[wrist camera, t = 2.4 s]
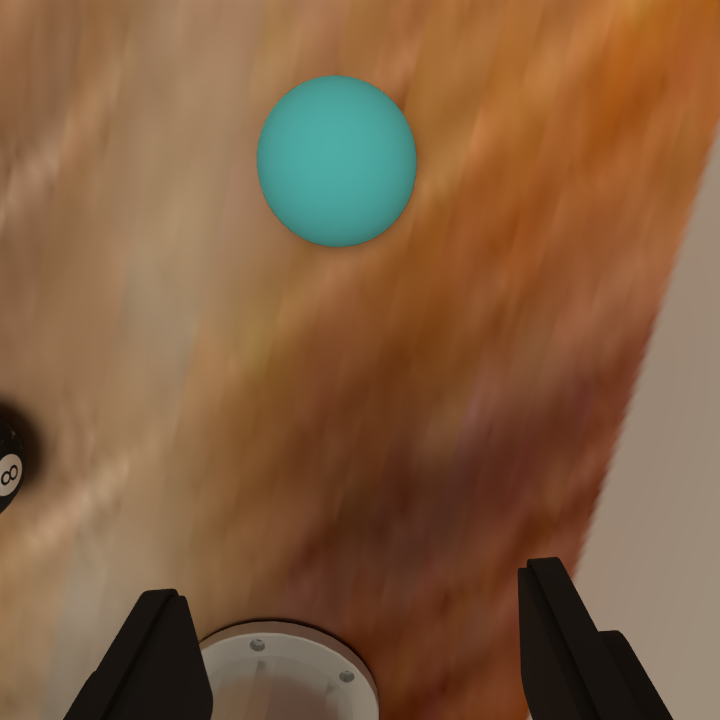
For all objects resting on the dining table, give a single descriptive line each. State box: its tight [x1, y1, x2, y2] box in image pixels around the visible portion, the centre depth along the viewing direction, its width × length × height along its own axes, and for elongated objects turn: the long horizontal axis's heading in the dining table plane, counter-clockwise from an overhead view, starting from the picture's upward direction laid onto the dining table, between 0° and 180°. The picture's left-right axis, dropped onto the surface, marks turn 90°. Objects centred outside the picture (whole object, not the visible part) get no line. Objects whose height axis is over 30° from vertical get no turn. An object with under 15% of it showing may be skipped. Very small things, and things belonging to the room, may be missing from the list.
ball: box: [257, 75, 417, 247], centre depth 19 cm, size 6×6×6 cm
